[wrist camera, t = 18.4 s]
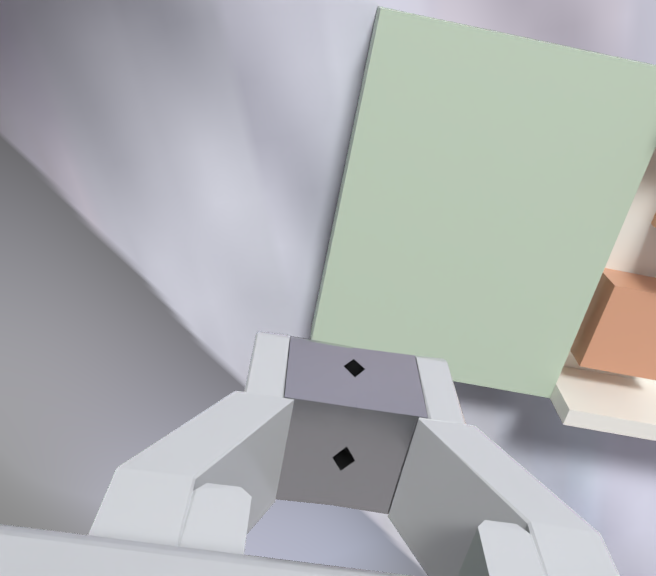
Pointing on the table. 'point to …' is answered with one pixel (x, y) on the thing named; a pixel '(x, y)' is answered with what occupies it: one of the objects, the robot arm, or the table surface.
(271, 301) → the table surface
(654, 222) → the tile
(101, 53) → the table surface
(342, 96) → the table surface
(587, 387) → the tray
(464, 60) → the board
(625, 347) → the tile
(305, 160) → the table surface
